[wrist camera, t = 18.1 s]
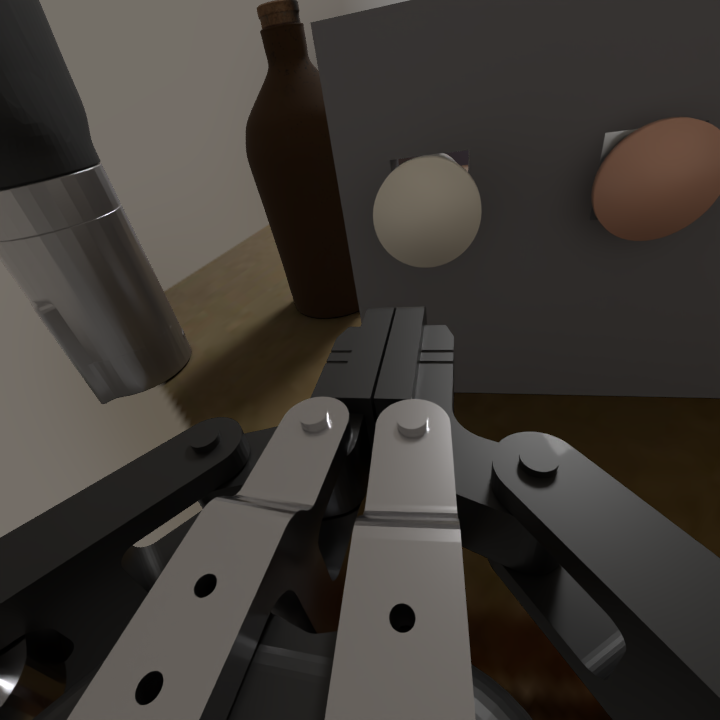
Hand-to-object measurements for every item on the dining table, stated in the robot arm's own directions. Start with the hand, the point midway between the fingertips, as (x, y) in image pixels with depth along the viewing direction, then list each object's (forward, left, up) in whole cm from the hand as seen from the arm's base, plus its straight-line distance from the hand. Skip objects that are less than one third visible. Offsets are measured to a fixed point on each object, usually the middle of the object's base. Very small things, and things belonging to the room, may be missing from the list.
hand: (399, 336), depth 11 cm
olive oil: (+17, +26, -14) cm, 35 cm away
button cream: (+11, +8, -3) cm, 14 cm away
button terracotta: (+18, 0, -3) cm, 18 cm away
